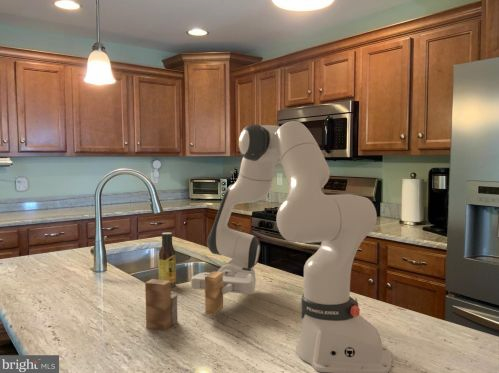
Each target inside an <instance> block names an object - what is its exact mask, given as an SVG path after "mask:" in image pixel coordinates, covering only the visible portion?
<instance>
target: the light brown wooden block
mask: <svg viewBox="0 0 499 373" xmlns="http://www.w3.org/2000/svg"><path fill="white" fill-rule="evenodd" d="M209 273H210V274H208V275H207V276H206V277H205V290H204V294H205V295H204V298H205V300H204V302H205V303H204V306H205V310H204V311H205V315H211V316H217V315H218V314H219V313H220V312H221V311H222V310H223V308H224V294H219V292H220V291H219V289H220V288H221V287H223V272H217V271H214V270H213V271H211V272H209Z"/></svg>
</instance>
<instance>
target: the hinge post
mask: <svg viewBox="0 0 499 373" xmlns="http://www.w3.org/2000/svg"><path fill="white" fill-rule="evenodd" d="M144 284H145V285H144V287H145V326H146V327H145V328H146V329H154V330H159V331H160V330H161V331H167V330H168V329H169V328H170V327H171V326H174V325H175V324H176V323H177V322H178V294H172V287H171V281H167V280H159V279H155V278H151V279H150V280H148V281H146V282H145V283H144Z"/></svg>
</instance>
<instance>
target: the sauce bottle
mask: <svg viewBox="0 0 499 373" xmlns="http://www.w3.org/2000/svg"><path fill="white" fill-rule="evenodd" d="M173 236H174V235H173V232H162V233H161V247H160V248H159V251H158V280H167V281H171V288H174V287H175V286H176V282H177V274H176V272H177V270H176V269H177V266H176V265H177V259H176V258H177V256H176V255H177V254H176V252H175V251H176V250H175V248H174V245H173Z"/></svg>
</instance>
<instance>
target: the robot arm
mask: <svg viewBox="0 0 499 373" xmlns="http://www.w3.org/2000/svg"><path fill="white" fill-rule="evenodd" d="M238 149H239V153H240V155H241V156H242V159H241V163H240V166H239V173H238V177H237V179H236V181H235V182H234V183H232V184H230V185H229V186H228V187H227V188H226V189H225V191H224V195H223V197H222V199H221V201H220V205H219V208H218V211H217V214H216V215H215V219H214V221H213V222H214V223H213V224H212V228H211V229H210V232H209V233H208V237H207V238H206V239H207V240H206V245H207V248H208V249H209V250H208V251H210V253H211V254H213V255H218V256H223V257H226V258H230V259H231V260H230V261H228V262H227V263H225V264H224V265H222V266H221V267H219V269H218V270H217V271H216V272H223V287H221V288H220V289H219V291H220V292H219V294H223V295H225V294H227V293H228V294H229V293H233V294H245V295H250V294H253V293H254V292H255V289H256V271H255V270H254V269H255V266H257V264H258V262H259V259H260V255H261V251H262V250H261V248H262V247H261V243H260V241H259V239H258V237H257V236H256V235H253V234H249V233H247V232H243V231H239V230H235V229H234V228H230V227H229V226H228V223H229V220H230V218H231V214H232V213H233V209H234V207H235V206H237V205H241V204H250V203H255V202H259V201H261V200H262V199H264V198H266V197H267V196H268V195H269V193H270V190H271V188H272V184H273V179H274V173H275V172H274V171H275V166H276V164H280V165H281V167H282V170H283V174H284V175H285V177H286V182H287V185H288V194H287V197H286V199H285V200H283V202H282V203H281V204H280V205H279V207H278V210H277V211H276V212H277V213H276V216H275V217H276V219H275V220H276V226H277V230H278V232H279V234H280V235H281V237H283V239H285V240H286V241H288V242H292V243H293V242H294V243H302V244H310V243H311V244H312V243H320V242H321V244H320V245H319V248H318V249H317V251H316V252H315V253H314V254H313V255H311V256H310V257H309V258H308V259H307V260H306V261H305V264H304V266H303V293H302V295H301V300H300V308H301V309H300V314H301V320H302V321H301V327H300V328H301V329H300V335H299V337H298V338H299V339H298V342H297V346H296V348H295V349H296V354H297V356H298V357H299V358H300V359H301V360H303V361H304V362H306V363H308V364H309V365H311V366H312V368H314V369H315V370H316V371H317V372H320V373H390V371H391V370H392V366H393V360H392V353H391V352H390V350H389V348H388V347H387V346H386V345H384V344H383V343H382V342H383V341H382V338H381V335H380V333H379V330H378V328H376V327H375V325H373V324H372V323H371V322H369V321H368V320H367V319H366V318H364V317H363V316H362V315H361V314H360V311H361V309H360V307H359V303H358V300H357V298H353V297H351V296H350V294H351V292H350V291H351V275H352V268H353V262H354V259H355V256H356V253H357V251H358V249H359V248H360V246H361V244H362V242H363V241H364V240H365V239H366V237H367V236H368V235H369V234H370V233H371V232H372V231H374V229H375V227H376V224H377V219H378V218H377V216H378V214H377V209H376V207H375V205H374V203H373V202H372V201H371V200H370V199H369V198H368V197H366V196H361V195H358V194H357V195H356V194H350V193H342V194H341V193H340V194H325V193H324V192H323V190H322V188H324V186H325V185H326V184H327V183H328V181H329V179H330V175H331V174H330V173H331V171H330V167H329V164H328V162H327V160H326V159H325V158H326V157H325V156H324V154H323V152H322V150H321V148H320V146H319V144H318V142H317V141H316V139H315V138H314V136H313V135H312V133H311V131H310V130H309V129H308V128H307V127H306V126H305V125H304V123H302V122H299V121H296V120H294V121H293V120H291V121H287V122H285V123H283V124H281V126H280V125H274V124H272V125H271V124H265V125H262V124H249V125H247V126H245V127H244V128H243V129H241V131H240V133H239V137H238ZM210 273H211V272H199V273H197V274H195V275H193V276H192V277H191V279H190V286H191V288H192V289H193V290H199V291H200V290H202V291H205V277H206V276H207V275H208V274H210Z"/></svg>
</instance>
